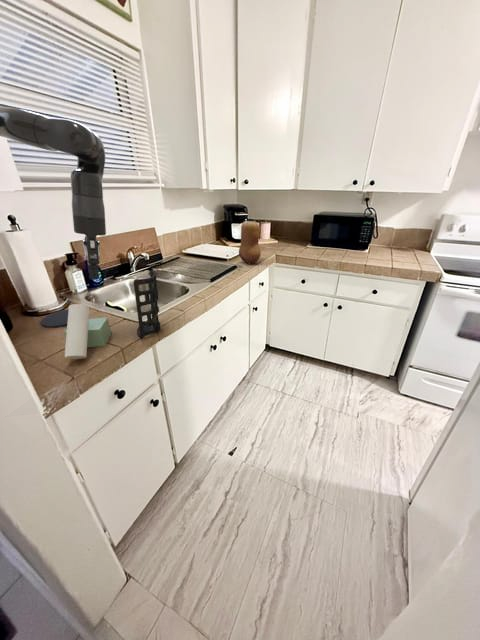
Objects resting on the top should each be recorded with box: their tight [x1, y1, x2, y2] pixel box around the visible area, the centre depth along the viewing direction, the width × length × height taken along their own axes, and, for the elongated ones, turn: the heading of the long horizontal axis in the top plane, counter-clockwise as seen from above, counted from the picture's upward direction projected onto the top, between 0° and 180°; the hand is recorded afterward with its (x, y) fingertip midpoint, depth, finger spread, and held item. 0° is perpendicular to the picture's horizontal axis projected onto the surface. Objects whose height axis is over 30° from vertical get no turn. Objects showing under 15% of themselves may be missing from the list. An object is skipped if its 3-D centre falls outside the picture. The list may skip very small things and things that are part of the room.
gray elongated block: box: [64, 303, 90, 360], centre depth 75 cm, size 5×14×14 cm, turn 9°
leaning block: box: [63, 317, 113, 348], centre depth 82 cm, size 10×8×6 cm
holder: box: [133, 270, 161, 339], centre depth 85 cm, size 11×8×20 cm
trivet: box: [40, 308, 69, 329], centre depth 97 cm, size 14×14×1 cm
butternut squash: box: [238, 220, 262, 265], centre depth 158 cm, size 14×13×25 cm
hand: (93, 276), depth 74 cm, fingers open, 8 cm apart
